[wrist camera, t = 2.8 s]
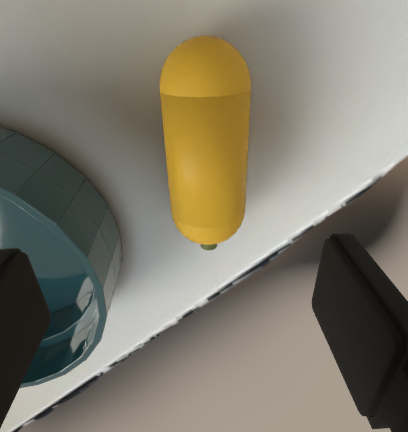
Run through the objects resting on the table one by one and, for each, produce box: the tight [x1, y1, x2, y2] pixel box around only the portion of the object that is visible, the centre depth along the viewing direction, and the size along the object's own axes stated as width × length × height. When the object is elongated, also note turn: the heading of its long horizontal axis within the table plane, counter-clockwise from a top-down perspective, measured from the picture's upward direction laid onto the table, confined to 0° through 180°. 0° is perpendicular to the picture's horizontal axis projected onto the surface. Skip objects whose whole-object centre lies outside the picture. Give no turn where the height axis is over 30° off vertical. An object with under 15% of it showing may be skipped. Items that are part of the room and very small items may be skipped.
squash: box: [160, 36, 251, 250], centre depth 19 cm, size 13×5×5 cm, turn 1°
